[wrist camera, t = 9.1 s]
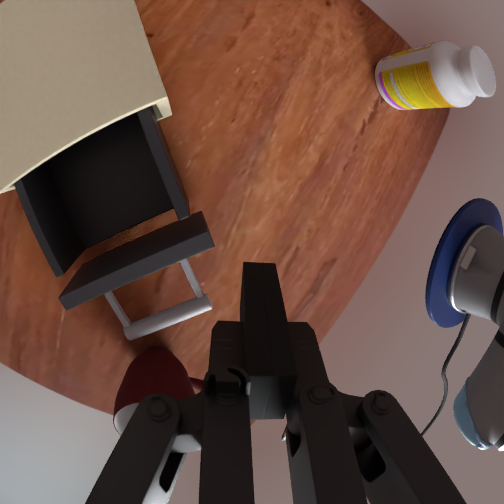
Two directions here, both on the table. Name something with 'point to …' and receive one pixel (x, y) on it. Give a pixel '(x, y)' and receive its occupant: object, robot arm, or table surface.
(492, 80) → the supplement bottle
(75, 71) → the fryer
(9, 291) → the table surface
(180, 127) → the table surface
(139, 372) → the mug
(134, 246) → the dark grey drawer
